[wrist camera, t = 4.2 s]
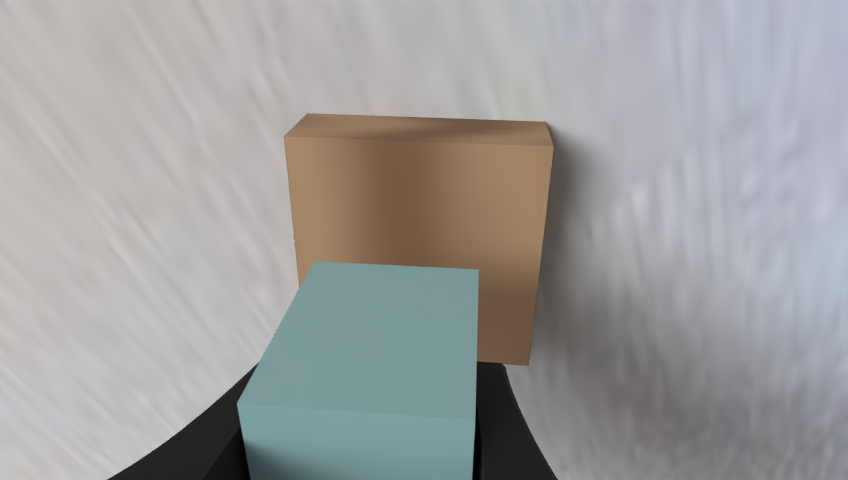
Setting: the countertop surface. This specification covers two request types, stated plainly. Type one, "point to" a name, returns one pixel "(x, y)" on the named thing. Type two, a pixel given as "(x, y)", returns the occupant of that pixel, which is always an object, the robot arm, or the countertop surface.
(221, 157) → the countertop surface
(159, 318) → the countertop surface
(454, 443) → the teal block
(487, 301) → the tan wooden block
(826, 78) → the countertop surface
